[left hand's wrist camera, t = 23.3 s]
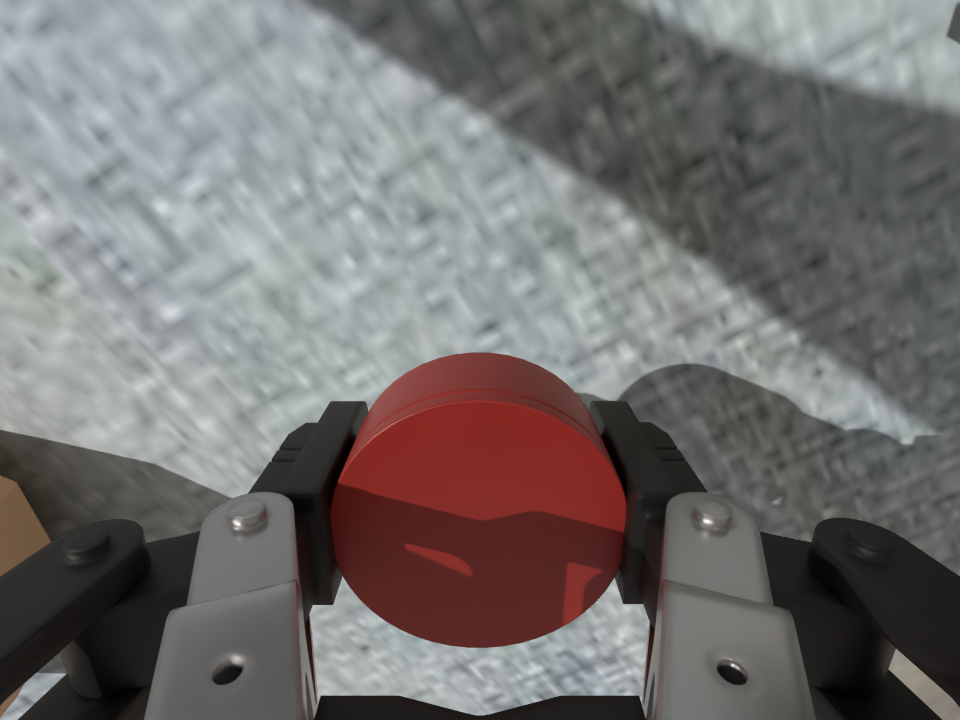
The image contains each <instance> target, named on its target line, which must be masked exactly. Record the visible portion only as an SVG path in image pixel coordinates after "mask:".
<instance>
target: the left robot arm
mask: <svg viewBox="0 0 960 720" xmlns="http://www.w3.org/2000/svg"><path fill="white" fill-rule="evenodd" d="M589 412H590V414H591V416H592V418H593V419H594V421H595V424H596V426H597V428H598V430H599V433H600V435H601V437H602V440H603V442H604V444H605V446H606V449H607V451H608V453H609V456H610V458H611V460H612V462H613V465H614V467H615V470H616V471H617V474H618V476H619V478H620V481H621V483H622V486H623V489H624V492H625V495H626V499H627V508H626V518H625V526H624V535H623V544H622V552H621V561H620V567H619V569H618V571H617V574H616V576H615V580H616V583H617V586H618V589H619V592H620V595H621V598H622V601H623V604H644V607H645V610H646V613H647V615H648V618H649V621H650V623H649V630H648V638H647V649H646V660H645V672H644V683H643V694H642V704H641V701H640V697H639V696H558V697H554V698H550V699H547V700H543V701H539V702H535V703H531V704H528V705H524V706H520V707H516V708H512V709H508V710H505V711H501V712H497V713H493V714H489V715H484V716H476V715H471V714H467V713H463V712H459V711H455V710H452V709H448V708H444V707H440V706H436V705H432V704H429V703H425V702H421V701H417V700H413V699H410V698H406V697H402V696H321V697H320V701H319V704H318V694H317V683H316V672H315V661H314V649H313V638H312V630H311V623H310V616H309V614H310V611H311V608H312V606H313V605H333V603H334V600H335V597H336V594H337V591H338V588H339V585H340V582H341V579H342V576H343V575H342V574H341V572H340V569H339V567H338V565H337V562H336V557H335V548H334V540H333V532H332V523H331V513H330V505H331V501H332V496H333V492H334V490H335V487H336V485H337V482H338V479H339V477H340V475H341V472H342V470H343V468H344V466H345V463H346V461H347V459H348V456H349V454H350V452H351V449H352V447H353V445H354V443H355V440H356V438H357V436H358V433H359V431H360V429H361V427H362V424H363V422H364V420H365V417H366V416H367V414H368V408H367V404H366V402H365V401H331V402H330V403H329V405H328V407H327V408H326V410H325V412H324V413H323V415H322V416H321V418H320V420H319V421H318V423H305V424H304V425H302V426H301V427H299V428H298V429H296V430H295V431H293V432H292V433H290V434H289V435H288V436H287V438H286V439H285V441H284V442H283V443H282V445H281V446H280V449H279V451H277V452H276V454H275V455H274V457H273V458H272V462H269V464H268V465H267V467H266V468H265V470H264V471H263V473H262V474H261V475H260V477H259V478H258V480H257V481H256V483H255V484H254V486H253V487H252V489H251V490H250V491H249V493H248V494H245V495H241V496H238V497H235V498H233V499H230V500H228V501H226V502H224V503H222V504H220V505H219V506H217V507H216V508H214V509H213V510H212V511H211V512H210V513H209V514H208V515H207V516H206V517H205V519H204V520H203V522H202V525H201V529H200V531H198V532H195V533H192V534H188V535H184V536H179V537H174V538H169V539H164V540H159V541H154V542H149V543H146V540H145V536H144V533H143V530H142V527H141V526H140V525H139V524H137V523H135V522H133V521H130V520H123V519H113V520H105V521H100V522H95V523H91V524H88V525H85V526H82V527H79V528H77V529H74V530H72V531H70V532H68V533H66V534H64V535H62V536H60V537H58V538H57V539H55V540H53V541H52V542H50V543H49V544H47V545H46V546H45V547H43V548H42V549H40V550H39V551H37V552H36V553H34V554H33V555H31V556H30V557H28V558H27V559H25V560H24V561H22V562H21V563H19V564H18V565H17V566H15V567H14V568H12V569H11V570H9V571H8V572H6V573H5V574H3V575H2V576H0V706H1V704H2V703H3V702H4V701H5V700H6V699H7V698H8V697H9V696H10V695H12V694H13V693H14V692H15V691H16V690H17V689H18V688H20V687H21V686H22V685H23V684H24V683H25V682H26V681H27V680H29V679H30V678H31V677H32V676H33V675H34V674H35V673H36V672H38V671H39V670H40V669H41V668H42V667H43V666H44V665H45V664H47V663H48V662H49V661H50V660H51V659H52V658H53V657H55V656H56V655H57V654H58V653H59V652H60V655H61V657H62V660H63V663H64V665H65V668H66V671H67V674H66V675H65V676H64V677H63V678H62V679H61V680H60V681H59V682H58V683H57V684H55V685H54V686H53V687H52V688H51V689H50V690H49V691H48V692H47V693H46V694H45V695H44V696H43V697H42V698H41V699H39V700H38V701H37V702H36V703H35V704H34V705H33V706H32V707H31V708H30V709H29V710H28V711H27V712H26V713H24V714H23V715H22V716H21V717H20V718H19V719H18V720H942V719H941V718H940V717H939V716H938V715H937V714H935V713H934V712H933V711H932V710H931V709H930V708H929V707H928V706H927V705H926V704H925V703H924V702H923V701H922V700H921V699H919V698H918V697H917V696H916V695H915V694H914V693H913V692H912V691H911V690H910V689H909V688H908V687H907V686H906V685H905V684H903V683H902V682H901V681H900V680H899V679H898V678H897V677H896V676H895V675H894V674H893V673H892V672H891V671H890V670H888V668H889V665H890V663H891V660H892V657H893V654H894V652H895V649H898V650H899V651H900V652H901V653H902V654H903V655H904V656H905V657H907V658H908V659H909V660H910V661H911V662H912V663H913V664H914V665H916V666H917V667H918V668H919V669H920V670H921V671H922V672H924V673H925V674H926V675H927V676H928V677H929V678H930V679H931V680H933V681H934V682H935V683H936V684H937V685H938V686H939V687H940V688H942V689H943V690H944V691H945V692H946V693H947V694H948V695H949V696H950V697H951V698H952V699H953V700H954V701H955V702H956V703H957V704H958V706H959V707H960V576H958V575H957V574H955V573H954V572H952V571H951V570H949V569H948V568H946V567H945V566H943V565H942V564H941V563H939V562H938V561H936V560H935V559H933V558H932V557H930V556H929V555H927V554H926V553H924V552H923V551H921V550H920V549H918V548H917V547H915V546H914V545H913V544H911V543H910V542H908V541H907V540H905V539H903V538H902V537H900V536H899V535H897V534H895V533H893V532H891V531H889V530H887V529H885V528H882V527H880V526H877V525H874V524H872V523H868V522H865V521H861V520H856V519H849V518H831V519H827V520H824V521H822V522H820V523H819V524H818V525H817V526H816V528H815V531H814V535H813V538H812V542H806V541H801V540H796V539H791V538H786V537H781V536H776V535H772V534H767V533H763V532H760V530H759V525H758V522H757V520H756V519H755V517H754V516H753V515H752V514H751V513H750V512H749V511H748V510H747V509H746V508H744V507H743V506H741V505H740V504H738V503H736V502H734V501H732V500H730V499H727V498H725V497H722V496H719V495H715V494H711V493H708V492H707V491H706V489H705V488H704V486H703V485H702V483H701V482H700V480H699V479H698V477H697V476H696V474H695V473H694V471H693V470H692V468H691V467H690V465H689V464H688V463H687V461H685V458H684V457H683V455H682V454H681V452H680V451H679V450H677V446H676V445H675V443H674V442H673V440H672V439H671V437H670V436H669V434H667V433H666V432H664V431H663V430H661V429H660V428H658V427H657V426H655V425H654V424H652V423H651V422H639V421H638V420H637V418H636V416H635V415H634V413H633V411H632V410H631V408H630V406H629V405H628V403H627V402H626V401H592V402H591V404H590V409H589Z"/></svg>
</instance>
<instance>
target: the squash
mask: <svg viewBox="0 0 960 720" xmlns="http://www.w3.org/2000/svg"><path fill="white" fill-rule="evenodd" d="M50 542H51V541H50V539H49V537H48V536H47V534H46V532H45V530H44V529H43V527H42V525H41V523H40V522H39V520H38V518H37V517H36V515H35V513H34V511H33V510H32V508H31V506H30V505H29V503H28V501H27V499H26V498H25V496H24V494H23V492H22V491H21V489H20V487H19V486H18V484H17V482H15V481H12V480H10V479H8V478H5V477H3V476H0V576H2V575H3V574H5V573H6V572H8V571H9V570H11V569H12V568H14V567H15V566H17V565H18V564H19V563H21V562H22V561H24V560H25V559H27V558H28V557H30V556H31V555H33V554H34V553H36V552H37V551H39V550H40V549H42V548H43V547H45V546H46V545H47V544H49V543H50ZM23 685H24V684H23ZM23 685H22V686H21V687H20V688H18V689H17V690H16V691H15V692H14V693H13V694H12V695H10V696H9V697H8V698H7V699H6V700H5V701H4V702H3V703H2V704H1V706H0V717H1V716H2V715H3V714H4V712H5V711H6V710H7V709H8V707H9V706H10V705H11V704H12V702H13V701H14V700H15V699H16V697H17V696H18V694H19V692H20V690H21V689H22V687H23Z"/></svg>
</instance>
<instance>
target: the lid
mask: <svg viewBox="0 0 960 720" xmlns="http://www.w3.org/2000/svg"><path fill="white" fill-rule="evenodd" d="M626 508H627V499H626V495H625V492H624V489H623V486H622V483H621V481H620V478H619V476H618V474H617V471H616V470H615V467H614V465H613V462H612V460H611V458H610V456H609V453H608V451H607V449H606V446H605V444H604V442H603V440H602V437H601V435H600V433H599V430H598V428H597V426H596V424H595V421H594V419H593V418H592V416H591V414H590V412H589V410H588V408H587V407H586V405H585V404H584V403H583V401H582V400H581V399H580V397H579V396H578V395H577V394H576V393H575V392H574V391H573V390H572V389H571V388H570V387H569V386H568V385H567V384H566V383H565V382H563V381H562V380H561V379H559V378H558V377H557V376H556V375H554V374H553V373H551V372H549V371H547V370H546V369H544V368H542V367H540V366H538V365H536V364H533V363H531V362H528V361H526V360H523V359H520V358H516V357H512V356H508V355H502V354H495V353H464V354H455V355H451V356H446V357H442V358H438V359H435V360H433V361H430V362H427V363H425V364H422V365H420V366H418V367H416V368H415V369H413V370H411V371H409V372H407V373H406V374H404V375H403V376H402V377H400V378H399V379H397V380H396V381H394V382H393V383H392V384H391V385H390V386H389V387H388V388H387V389H386V390H385V391H384V392H383V393H382V394H381V395H380V397H379V398H378V399H377V400H376V402H375V403H374V404H373V405H372V407H371V409H370V411H369V412H368V414H367V416H366V417H365V420H364V422H363V424H362V427H361V429H360V431H359V433H358V436H357V438H356V440H355V443H354V445H353V447H352V449H351V452H350V454H349V456H348V459H347V461H346V463H345V466H344V468H343V470H342V472H341V475H340V477H339V479H338V482H337V485H336V487H335V490H334V492H333V496H332V501H331V505H330V513H331V523H332V532H333V540H334V548H335V557H336V562H337V565H338V567H339V569H340V572H341V574H342V575H343V577H344V579H345V580H346V582H347V584H348V585H349V587H350V588H351V589H352V590H353V592H354V593H355V594H356V595H357V597H358V598H359V599H360V600H361V601H362V602H363V603H364V604H365V605H366V606H367V607H368V608H369V609H370V610H371V611H373V612H374V613H375V614H377V615H378V616H379V617H381V618H382V619H383V620H385V621H386V622H388V623H390V624H392V625H393V626H395V627H397V628H398V629H400V630H402V631H405V632H407V633H409V634H412V635H414V636H416V637H419V638H422V639H425V640H429V641H432V642H436V643H440V644H445V645H450V646H459V647H468V648H488V647H500V646H507V645H513V644H518V643H522V642H526V641H529V640H533V639H536V638H539V637H541V636H544V635H546V634H549V633H551V632H554V631H555V630H557V629H559V628H561V627H563V626H565V625H567V624H568V623H570V622H571V621H573V620H574V619H576V618H577V617H579V616H580V615H581V614H583V613H584V612H585V611H586V610H587V609H588V608H590V607H591V606H592V605H593V604H594V603H595V602H596V601H597V600H598V599H599V598H600V596H601V595H602V594H603V593H604V592H605V591H606V589H607V588H608V586H609V585H610V583H611V582H612V580H613V579H614V577H615V576H616V574H617V571H618V569H619V567H620V561H621V552H622V544H623V535H624V526H625V518H626Z"/></svg>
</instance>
